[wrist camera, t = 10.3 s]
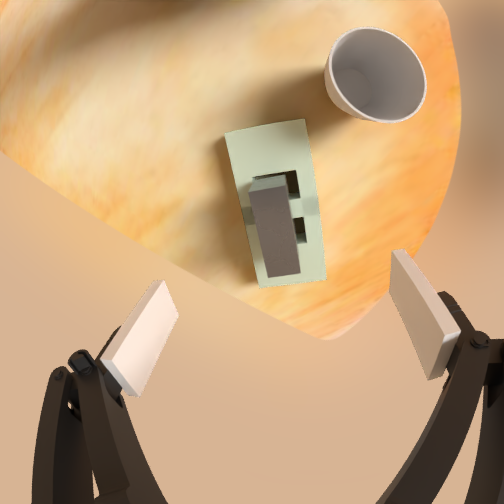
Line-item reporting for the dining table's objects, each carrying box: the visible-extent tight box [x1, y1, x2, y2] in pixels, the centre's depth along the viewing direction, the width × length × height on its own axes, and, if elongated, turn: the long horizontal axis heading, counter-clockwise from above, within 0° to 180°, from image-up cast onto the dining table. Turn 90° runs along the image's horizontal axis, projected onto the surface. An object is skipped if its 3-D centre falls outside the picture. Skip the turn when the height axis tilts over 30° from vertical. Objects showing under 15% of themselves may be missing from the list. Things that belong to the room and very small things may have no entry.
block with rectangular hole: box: [224, 118, 327, 288], centre depth 29 cm, size 18×8×3 cm, turn 12°
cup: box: [324, 27, 427, 123], centre depth 19 cm, size 8×8×10 cm
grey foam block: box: [248, 175, 301, 278], centre depth 27 cm, size 8×3×9 cm, turn 13°
